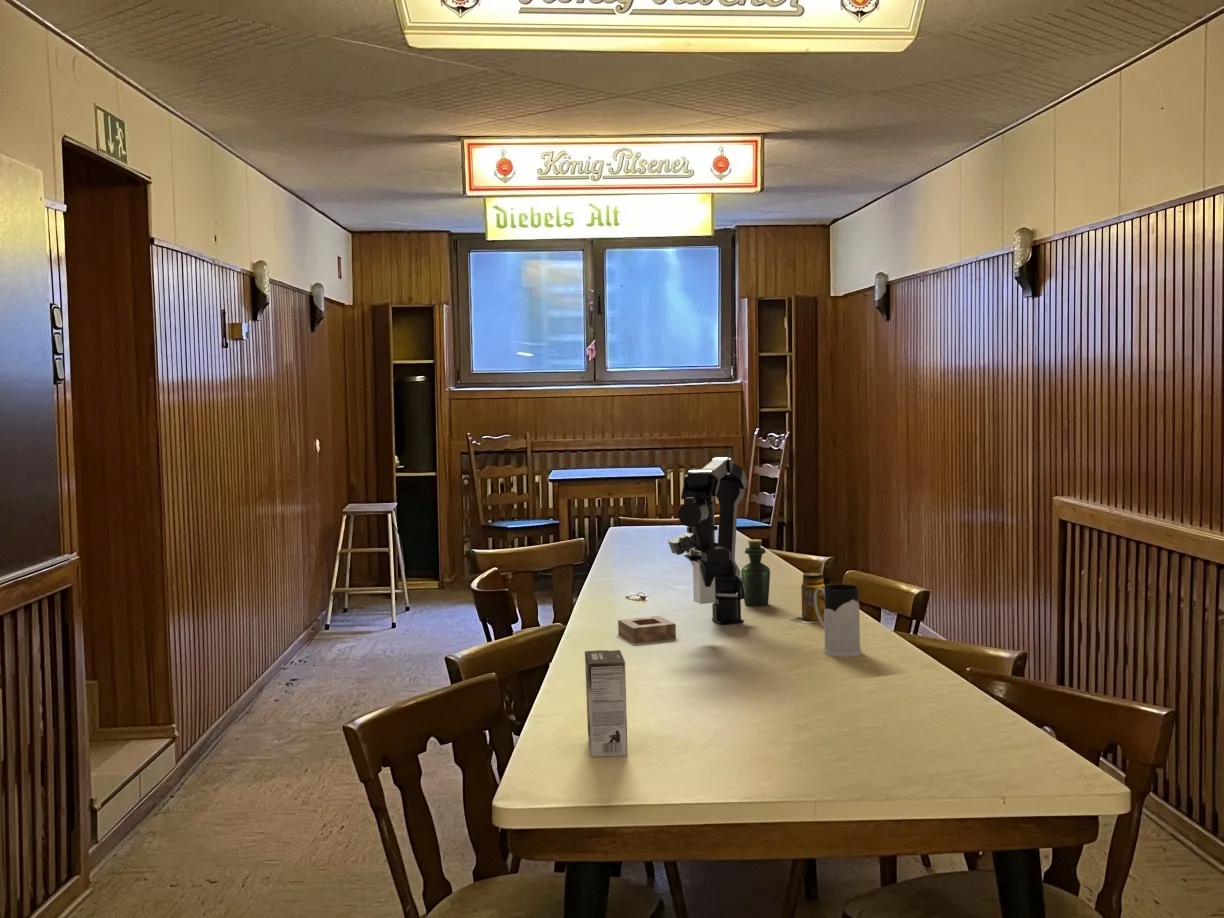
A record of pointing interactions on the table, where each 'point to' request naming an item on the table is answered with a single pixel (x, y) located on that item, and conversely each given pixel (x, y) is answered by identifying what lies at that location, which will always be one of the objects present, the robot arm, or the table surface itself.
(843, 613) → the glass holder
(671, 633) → the block
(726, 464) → the robot arm
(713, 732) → the table surface
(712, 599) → the grey long rectangular block
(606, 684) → the coffee box
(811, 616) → the condiment
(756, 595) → the potion bottle
